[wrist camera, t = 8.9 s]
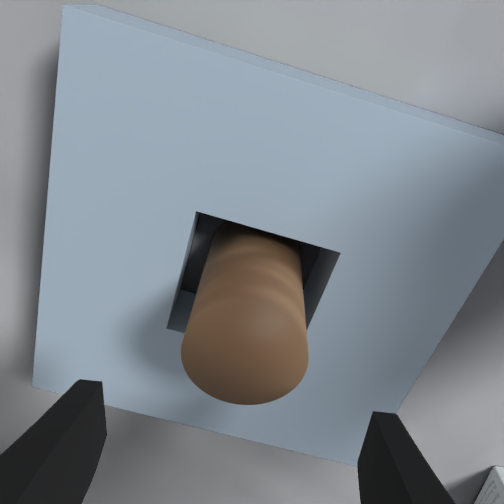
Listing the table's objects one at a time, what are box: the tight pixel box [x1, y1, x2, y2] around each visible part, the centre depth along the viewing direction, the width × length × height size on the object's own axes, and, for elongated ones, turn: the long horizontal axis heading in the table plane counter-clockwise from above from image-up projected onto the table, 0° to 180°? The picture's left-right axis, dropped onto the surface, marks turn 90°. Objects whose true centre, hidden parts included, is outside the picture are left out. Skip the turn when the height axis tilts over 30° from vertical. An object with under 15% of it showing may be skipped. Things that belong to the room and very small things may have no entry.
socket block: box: [32, 4, 504, 467], centre depth 19 cm, size 16×16×3 cm
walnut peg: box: [181, 220, 309, 405], centre depth 17 cm, size 4×4×7 cm
